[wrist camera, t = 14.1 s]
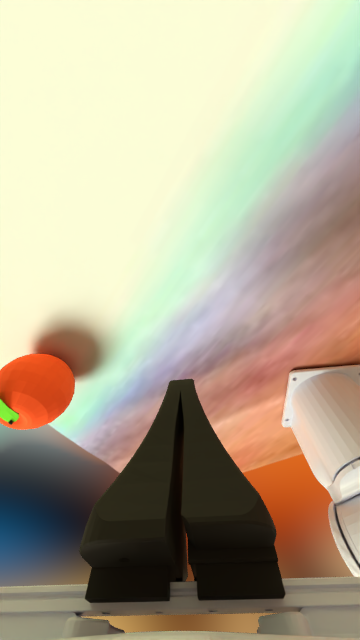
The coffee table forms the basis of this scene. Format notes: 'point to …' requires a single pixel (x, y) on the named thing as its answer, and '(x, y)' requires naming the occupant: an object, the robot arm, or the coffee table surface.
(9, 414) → the clementine
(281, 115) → the coffee table surface
